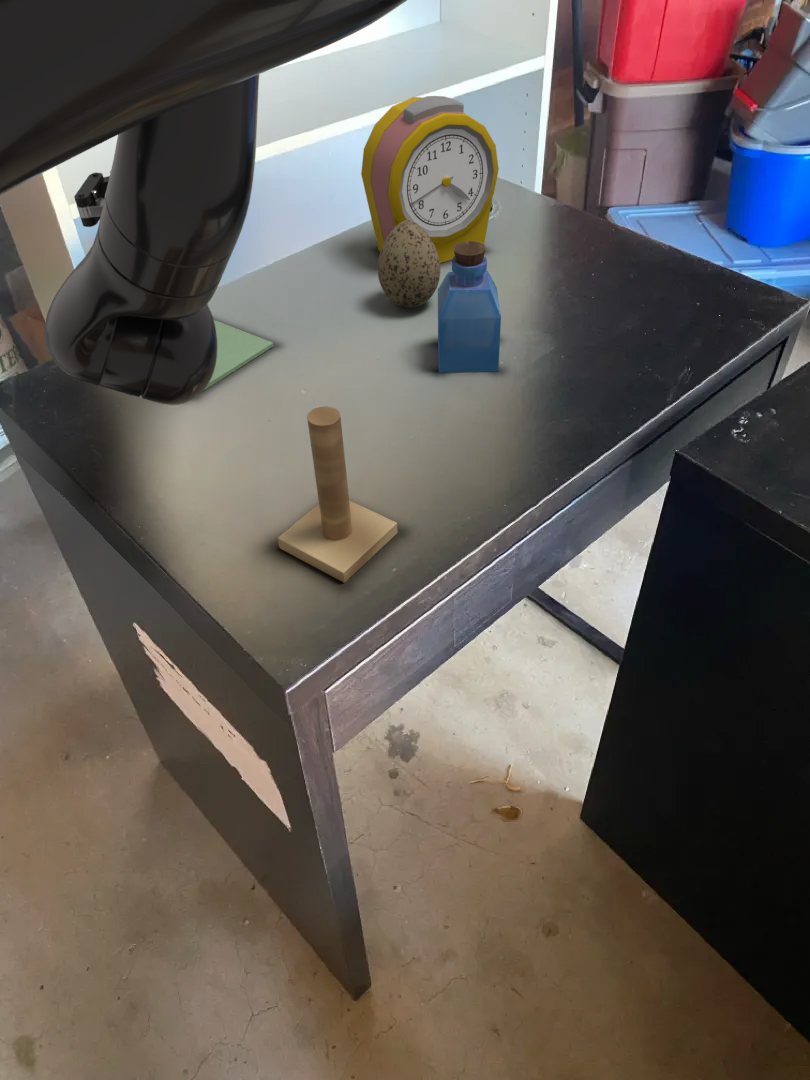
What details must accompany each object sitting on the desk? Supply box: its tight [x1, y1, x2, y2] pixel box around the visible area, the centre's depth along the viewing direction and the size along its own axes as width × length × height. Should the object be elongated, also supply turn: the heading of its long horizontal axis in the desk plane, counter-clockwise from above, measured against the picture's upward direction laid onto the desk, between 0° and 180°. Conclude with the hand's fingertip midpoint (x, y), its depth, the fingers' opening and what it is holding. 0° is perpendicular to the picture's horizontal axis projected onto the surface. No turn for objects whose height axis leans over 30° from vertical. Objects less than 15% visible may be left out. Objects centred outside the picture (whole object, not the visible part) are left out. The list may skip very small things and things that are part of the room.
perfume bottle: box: [437, 241, 502, 374], centre depth 84 cm, size 6×6×12 cm
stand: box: [277, 406, 398, 584], centre depth 64 cm, size 7×7×12 cm
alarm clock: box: [360, 95, 500, 264], centre depth 101 cm, size 15×8×18 cm, turn 118°
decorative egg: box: [377, 220, 441, 308], centre depth 94 cm, size 7×7×10 cm
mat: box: [202, 319, 274, 392], centre depth 90 cm, size 12×10×1 cm
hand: (166, 164), depth 78 cm, fingers closed on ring, 6 cm apart
